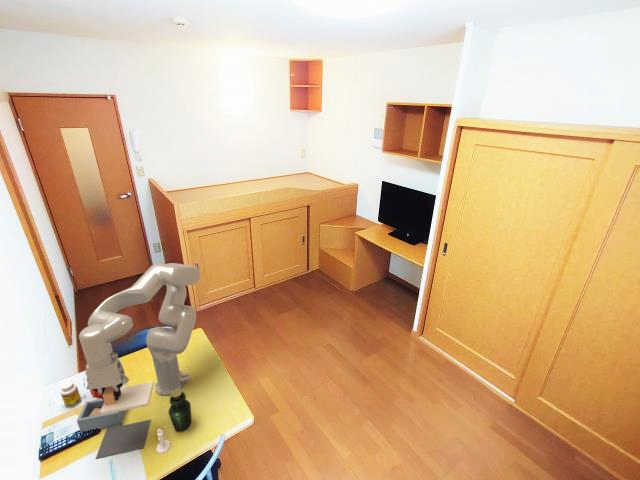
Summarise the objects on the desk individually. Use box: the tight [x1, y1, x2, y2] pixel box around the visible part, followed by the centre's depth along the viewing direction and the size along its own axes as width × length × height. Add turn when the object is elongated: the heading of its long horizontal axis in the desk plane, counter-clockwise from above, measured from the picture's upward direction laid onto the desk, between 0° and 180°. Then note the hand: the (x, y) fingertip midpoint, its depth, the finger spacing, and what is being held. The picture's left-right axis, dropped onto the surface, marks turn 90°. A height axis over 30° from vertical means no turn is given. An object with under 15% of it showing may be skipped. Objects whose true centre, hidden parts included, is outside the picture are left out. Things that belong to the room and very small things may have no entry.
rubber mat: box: [95, 419, 152, 460], centre depth 122 cm, size 16×12×1 cm
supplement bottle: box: [60, 380, 82, 408], centre depth 134 cm, size 6×6×10 cm
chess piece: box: [155, 428, 171, 455], centre depth 117 cm, size 5×5×10 cm
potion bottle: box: [168, 388, 192, 433], centre depth 124 cm, size 8×8×18 cm
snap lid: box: [100, 381, 154, 415], centre depth 114 cm, size 15×10×6 cm, turn 106°
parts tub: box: [76, 398, 127, 433], centre depth 128 cm, size 14×9×7 cm, turn 106°
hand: (112, 397), depth 113 cm, fingers closed on snap lid, 3 cm apart
